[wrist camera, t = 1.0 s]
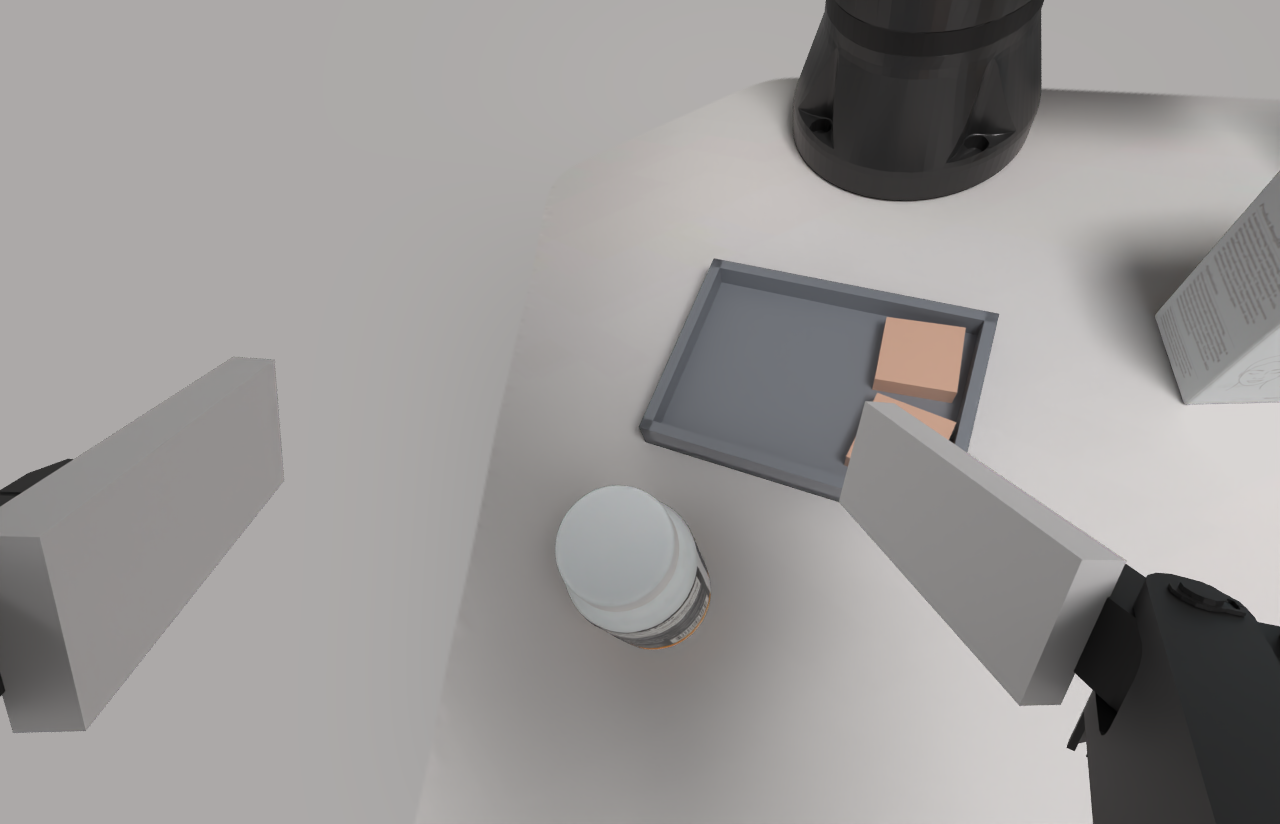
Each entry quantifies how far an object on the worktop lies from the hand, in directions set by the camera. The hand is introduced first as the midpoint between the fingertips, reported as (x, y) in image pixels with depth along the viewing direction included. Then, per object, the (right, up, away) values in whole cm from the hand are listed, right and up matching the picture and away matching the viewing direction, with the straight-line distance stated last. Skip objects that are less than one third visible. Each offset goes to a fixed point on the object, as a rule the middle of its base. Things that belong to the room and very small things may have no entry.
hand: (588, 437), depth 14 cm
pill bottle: (+2, -9, +18) cm, 20 cm away
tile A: (+16, +3, +20) cm, 26 cm away
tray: (+11, +2, +22) cm, 24 cm away
